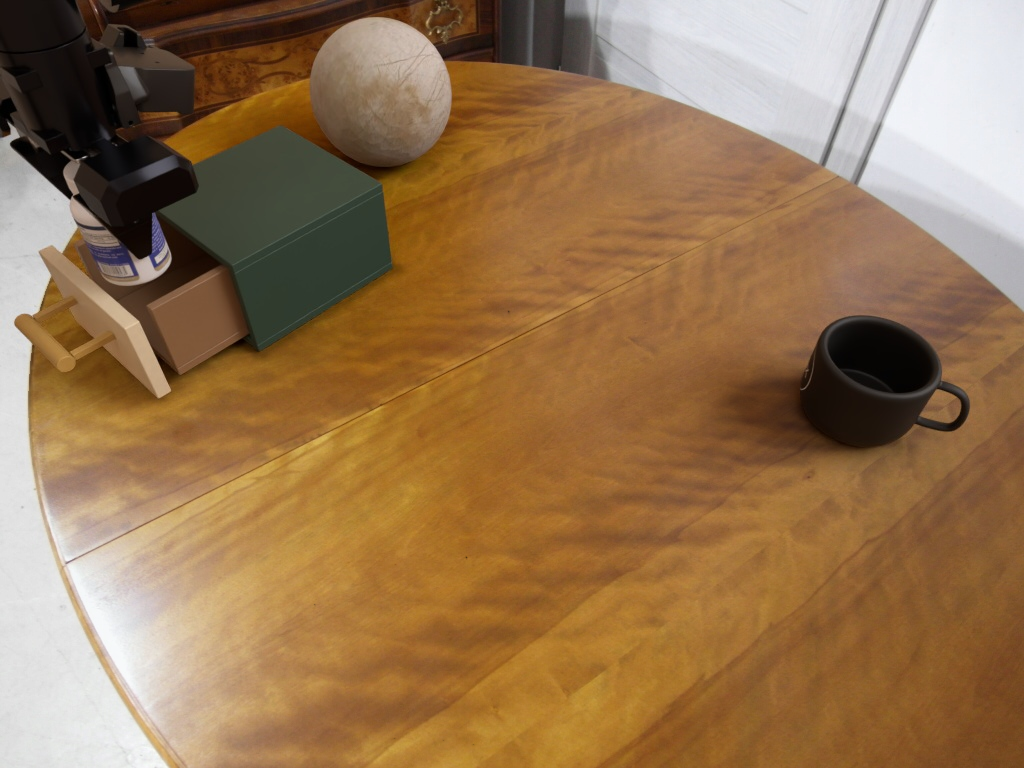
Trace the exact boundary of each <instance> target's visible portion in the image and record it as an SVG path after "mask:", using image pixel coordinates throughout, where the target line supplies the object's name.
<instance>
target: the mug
mask: <svg viewBox="0 0 1024 768" xmlns="http://www.w3.org/2000/svg"><path fill="white" fill-rule="evenodd" d="M942 367H943V366H942V362H941V359H940V357H939V355H938V353H937V351H936V350H935V348H934V347H933V346H932V345H931V344H930V342H928V341H927V339H925V338H924V337H923V336H922V335H921V334H919V333H918V332H916V331H915V330H914V329H912V328H910V327H908V326H906V325H904V324H902V323H900V322H897V321H894V320H892V319H889V318H886V317H881V316H875V315H869V314H868V315H866V314H857V315H856V314H855V315H848V316H844V317H840V318H838V319H836V320H834V321H833V322H831V323H829V324H828V325H826V327H825V328H824V329H823V330H822V332H821V333H820V335H819V336H818V338H817V341H816V343H815V346H814V348H813V351H812V353H811V355H810V357H809V360H808V362H807V364H806V367H805V369H804V371H803V373H802V376H801V379H800V384H799V396H800V401H801V407H802V408H803V410H804V413H805V414H806V416H807V418H808V420H809V421H810V423H812V424H813V425H814V426H815V428H817V429H818V430H820V431H821V432H822V433H824V435H826V436H828V437H830V438H832V439H833V440H836V441H838V442H840V443H842V444H845V445H850V446H854V447H859V448H876V447H881V446H884V445H888V444H891V443H892V442H895V441H897V440H899V439H900V438H902V437H903V436H905V435H906V434H907V433H908V432H910V431H911V429H912V428H913V427H914V425H917V426H920V427H923V428H926V429H930V430H933V431H937V432H943V433H951V432H954V431H957V430H958V429H959V428H961V427H962V426H963V425H964V423H965V422H966V421H967V419H968V418H969V417H968V416H969V414H970V410H971V400H970V398H969V395H968V393H967V392H966V391H965V389H963V388H961V387H960V386H958V385H956V384H954V383H951V382H949V381H946V380H945V381H944V380H942V378H943V377H942V376H943V368H942ZM937 390H939V391H941V392H946V393H947V394H950V395H952V396H953V397H954V396H955V397H956V398H957V399H958V400H959V401H960V411H959V413H958V415H957V417H956V418H955V419H954V420H953V421H951V422H943V421H938V420H934V419H930V418H927V417H924V416H922V415H921V414H922V413H923V410H924V409H925V407H926V406H927V404H928V403H929V401H930V400H931V398H932V397H933V395H934V394H935V392H936V391H937Z"/></svg>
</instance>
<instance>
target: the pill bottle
mask: <svg viewBox="0 0 1024 768" xmlns="http://www.w3.org/2000/svg"><path fill="white" fill-rule="evenodd" d="M80 164H81V163H80ZM80 164H76V163H74V162H73V161H70V162H69V163H68V164H67V165H66V166H65V168H64V171H63V174H64V177H65V180H66V182H67V184H68V187H69V189H70V190H71V192H72V193H73V196H74V195H76V194H78V193H79V191H78V189H77V187H76V185H75V182H74V180H73V179H74V177H75V175H76V173H77V170H78V168H79V166H80ZM73 196H72V198H71V201H70V200H69V210H70V211H69V212H70V213H71V216H72V218H73V220H74V222H75V225H76V226H77V229H78V231H79V233H80V234H81V237H82V238H83V239H84V241H85V243H86V245H87V247H88V249H89V251H90V253H91V255H92V257H93V259H94V261H95V263H96V265H97V267H98V269H99V271H100V273H101V274H102V276H103V277H104V278H105V279H106V280H107V281H109V282H110V283H113V284H116V285H121V286H133V285H139V284H143V283H146V282H149V281H151V280H154V279H155V278H157V277H159V276H160V275H162V274H163V273H164V272H165V271H166V270H167V268H168V267H169V265H170V263H171V253H170V250H169V247H168V245H167V242H166V240H165V237H164V235H163V232H162V230H161V227H160V225H159V222H158V220H157V217H156V215H155V212H154V213H152V254H151V255H149V256H147V257H145V258H143V259H141V260H139V259H137V258H136V257H135V256H134V255H133V254H132V253H131V252H130V251H129V250H127V249H126V248H125V247H124V246H123V245H122V244H121V243H120V242H119V241H118V240H117V239H116V238H115V237H114V236H113V235H112V234H111V233H109V232H108V231H107V230H106V229H105V228H104V227H103V226H102V225H101V224H100V223H99V222H98V221H97V220H96V219H95V218H94V217H93V216H91V215H90V214H89V213H88V212H87V211H86V210H85V209H84V208H83V207H82V206H81V205H80V204H79V203H78V202H77V201H76V200H74V198H73Z"/></svg>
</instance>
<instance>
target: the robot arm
mask: <svg viewBox="0 0 1024 768" xmlns="http://www.w3.org/2000/svg"><path fill="white" fill-rule="evenodd" d="M98 1H99V3H100V4H101V5H102V6H103V7H104V8H105V9H106V10H107V11H108V12H110V13H114V14H117V13H120V12H123V11H126V10H130V9H134V8H137V7H141V6H144V5H147V4H151V3H154V2H158V1H159V0H98ZM147 46H148V47H147ZM195 89H196V67H195V66H194V65H193V64H191V63H190V62H188V61H186V60H185V59H183V58H181V57H179V56H178V55H176V54H174V53H172V52H171V51H168V50H167V49H166V50H165V49H161V48H159V47H157V46H155V45H153V44H148V45H147V44H146V43H145V40H144V38H143V36H142V34H141V33H140V32H139V31H137V30H135V29H134V28H133V27H131V26H129V25H126V24H115V23H114V24H113V23H108V24H107V25H106V27H105V30H104V31H103V34H102V36H101V38H100V40H99V41H97V40H96V39H95V38H93V37H91V34H90V32H89V29H88V25H87V24H86V22H85V19H84V16H83V13H82V11H81V7H80V6H79V3H78V1H77V0H0V137H1V138H6V137H8V136H11V135H12V128H11V126H12V127H13V128H14V129H15V131H16V132H17V135H18V136H19V137H17V138H14V139H13V140H11V141H10V142H9V147H10V148H11V149H12V150H13V151H14V152H15V153H16V154H17V155H19V156H20V157H21V158H22V159H23V160H24V161H25V162H27V164H29V165H30V166H31V167H32V168H33V169H34V170H36V172H38V174H40V176H42V177H43V178H44V179H45V180H47V182H49V183H50V185H52V186H53V187H54V188H55V189H56V190H57V191H58V192H60V193H61V194H62V195H63V196H64V197H65V198H66V199H67V200H69V202H70V201H71V198H72V196H73V193H72V192H71V190H70V189H69V187H68V184H67V182H66V180H65V177H64V174H63V171H64V168H65V166H66V165H67V164H68V163H69V162H70V161H73V162H74V163H76V164H80V163H81V164H80V166H79V168H78V170H77V173H76V175H75V177H74V179H73V180H74V182H75V185H76V187H77V189H78V191H79V193H78V194H76V195H74V196H73V198H74V200H76V201H77V202H78V203H79V204H80V205H81V206H82V207H83V208H84V209H85V210H86V211H87V212H88V213H89V214H90V215H91V216H93V217H94V218H95V219H96V220H97V221H98V222H99V223H100V224H101V225H102V226H103V227H104V228H105V229H106V230H107V231H108V232H109V233H111V234H112V235H113V236H114V237H115V238H116V239H117V240H118V241H119V242H120V243H121V244H122V245H123V246H124V247H125V248H126V249H127V250H129V251H130V252H131V253H132V254H133V255H134V256H135V257H136V258H137V259H139V260H141V259H143V258H145V257H147V256H149V255H151V254H152V213H154V212H156V211H158V210H160V209H163V208H165V207H167V206H169V205H171V204H173V203H175V202H178V201H180V200H182V199H184V198H186V197H188V196H190V195H192V194H195V193H196V192H197V190H198V187H199V184H198V181H197V178H196V175H195V172H194V168H193V165H194V164H193V162H192V161H191V160H190V159H188V158H187V157H186V156H184V155H183V154H182V153H180V152H178V151H177V150H176V149H174V148H173V147H171V146H170V145H168V144H167V143H165V142H164V141H162V140H159V139H157V138H154V137H153V136H150V135H148V134H145V135H142V136H140V137H139V136H138V137H136V138H134V139H132V140H130V141H128V140H126V139H125V138H124V137H122V136H121V135H119V134H118V131H117V130H118V129H121V128H122V129H123V130H128V129H130V128H134V127H136V126H138V125H141V124H143V123H142V119H141V117H140V114H139V113H178V114H179V115H181V116H187V115H193V113H195V93H196V92H195V91H196V90H195ZM10 125H11V126H10Z"/></svg>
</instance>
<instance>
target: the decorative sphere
mask: <svg viewBox="0 0 1024 768" xmlns="http://www.w3.org/2000/svg"><path fill="white" fill-rule="evenodd" d="M451 83H452V82H451V78H450V74H449V72H448V68H447V65H446V62H445V61H444V59H443V57H442V56H441V54H440V52H439V50H438V49H437V48H436V46H435V45H434V44H433V43H432V42H431V41H430V39H428V38H427V37H426V35H424V34H423V33H422V32H420V31H419V30H418V29H416V28H415V27H413V26H411V25H409V24H407V23H405V22H403V21H400V20H397V19H393V18H389V17H382V16H374V17H373V16H371V17H364V18H359V19H356V20H353V21H350V22H348V23H347V24H344V25H342V26H341V27H340V28H338V29H337V30H336V31H334V32H333V33H332V34H331V35H330V36H329V37H328V38H327V39H326V41H324V43H323V44H322V46H321V47H320V49H319V50H318V52H317V54H316V56H315V59H314V61H313V63H312V68H311V71H310V77H309V97H310V98H309V100H310V105H311V108H312V112H313V115H314V118H315V120H316V122H317V124H318V127H319V128H320V130H321V131H322V133H323V135H324V136H325V137H326V138H327V140H328V141H329V142H330V144H332V145H333V146H334V148H336V149H337V150H339V152H341V153H342V154H344V155H345V156H347V157H348V158H351V159H352V160H354V161H356V162H358V163H361V164H364V165H367V166H371V167H379V168H390V167H391V168H392V167H398V166H402V165H405V164H408V163H411V162H413V161H415V160H417V159H418V158H420V157H422V156H423V155H425V154H426V153H427V152H428V151H430V149H431V148H433V147H434V146H435V144H436V143H437V142H438V140H439V139H440V138H441V136H442V135H443V133H444V131H445V128H446V126H447V124H448V121H449V118H450V116H451V115H450V114H451V111H452V110H451V109H452V102H453V101H452V99H453V95H452V84H451Z"/></svg>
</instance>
